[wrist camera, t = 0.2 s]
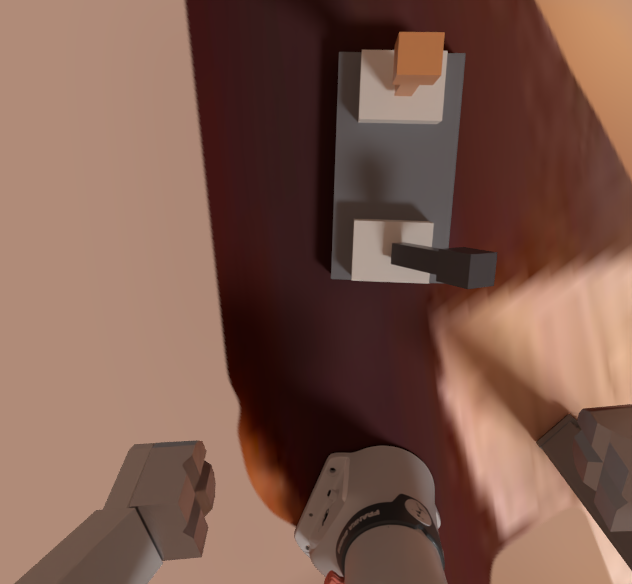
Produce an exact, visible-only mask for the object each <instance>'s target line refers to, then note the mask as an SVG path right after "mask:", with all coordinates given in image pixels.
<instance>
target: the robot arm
mask: <svg viewBox="0 0 632 584" xmlns="http://www.w3.org/2000/svg"><path fill="white" fill-rule="evenodd" d="M577 423H578V424H579V426H580V428H581V429H582V430H581V431H580V432H579V433H578V434H577V435H576V436H574V439H573V446H572V451H573V459H574V463H575V466H576V469H577V471H578V473H579V475H580V477H581V479H582V481H583V483H585V484H586V485H588V486H589V487H591V488H592V489H594V490H595V491H596V494H595V498H594V503H595V505H596V507H597V509H598V510H599V512H600V514H601V516H602V518H603V519H604V521H605V523H606V525H607V527H608V528H609V530H610V532H616V531H632V405H630V404H628V405H617V406H607V407H596V408H585V409H582V410H581V411H580V413H579V416H578V420H577ZM205 455H206V449H205V447H204V444H203V442H202V441H182V442H164V443H153V444H152V443H151V444H135V445H134V446H133V447H132V448H131V449H130V450H129V451H128V454H127V456H126V458H125V461H124V463H123V465H122V467H121V469H120V472H119V474H118V476H117V479H116V481H115V484H114V486H113V488H112V490H111V492H110V495H109V497H108V499H107V502H106V504H105V506H104V508H103V510H96V511H95V512H94V513H93V514H92V515H90V516H89V517H88V518H87V519H86V520H85V521H84V522H83V523H82V524H80V525H79V527H77V528H76V529H75V530H74V531H73V532H72V533H70V534H69V535H68V536H67V537H66V538H65V539H64V540H63V541H61V542H60V543H59V544H58V545H57V546H56V547H55V548H54V549H53V550H52V551H50V552H49V553H48V554H47V555H46V556H45V557H44V558H42V559H41V560H40V561H39V562H38V563H37V564H36V565H35V566H34V567H33V568H31V569H30V570H29V571H28V572H27V573H26V574H25V575H24V576H22V577H21V578H20V579H19V580H18V581H17V582H16V583H15V584H147V583H148V582H149V581H150V580H151V578H152V577H153V576H154V574H155V573H156V572H157V570H158V569H159V568H160V566H161V565H162V564H163V562H162V561H165V560H175V559H187V558H198V557H202V553H203V548H204V544H205V539H206V535H207V531H208V525H207V523H206V520H205V518H204V517H205V516H206V515H207V514H208V513H209V511H211V509H212V508H213V503H214V498H215V477H214V472H213V469H212V466H211V464H209V463H208V462H206V461H205V460H204V459H205ZM330 468H334V469H335V470H331V469H330ZM439 527H440V516H439V513H438V510H437V508H436V506H435V487H434V481H433V478H432V475H431V473H430V471H429V469H428V468H427V466H426V465H425V464H424V463H423V462H422V461H421V460H420V459H419V458H418V457H417V456H415V455H414V454H412V453H410V452H408V451H406V450H404V449H401V448H398V447H393V446H373V447H368V448H365V449H362V450H359V451H356V452H352V453H333V454H330V455H329V456H328V458H327V460H326V462H325V464H324V467H323V469H322V471H321V473H320V475H319V478H318V480H317V482H316V484H315V487H314V489H313V491H312V493H311V496H310V498H309V500H308V502H307V504H306V507H305V509H304V511H303V513H302V516H301V518H300V520H299V522H298V524H297V527H296V529H295V535H294V537H295V540H296V542H297V544H298V545H299V547H300V548H301V549H302V550H303V552H304V553H305V554H306V555H307V556H308V557H310V559H311V561H312V562H313V564H314V566H315V567H316V568H317V569H318V570H319V571H320V572H321V573H322V574H323V575H324V576H325V577H326V578H325V581H324V584H447V581H446V578H445V574H444V565H445V563H444V554H443V550H442V546H441V542H440V538H439V534H438V528H439ZM307 545H309V547H308V546H307Z"/></svg>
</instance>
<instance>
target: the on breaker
mask: <svg viewBox="0 0 632 584" xmlns="http://www.w3.org/2000/svg"><path fill="white" fill-rule="evenodd" d="M496 260H497V252H491V251H485V250H478V249H472V248H466V247H460V248H445V249H440V248H434V247H428V246H422V245H417V244H411V243H405V242H402V243H392V252H391V264H392V265H397V266H401V267H405V268H409V269H413V270H418V271H422V272H426V273H430V274H435V275H436V281H437V282H441V283H445V284H449V285H453V286H457V287H461V288H465V289H472V288H480V287H488V286H494V278H495V269H496Z"/></svg>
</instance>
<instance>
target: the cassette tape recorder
mask: <svg viewBox="0 0 632 584" xmlns="http://www.w3.org/2000/svg"><path fill="white" fill-rule="evenodd" d="M581 430H582V429H581V428H580V426H579V424H578V423H577V420H576V419H575V418H573V417H572V416H571V415H570V414H568V415H567V416H566V417H565V418H564V419H563V420H561V421H560V422H559V423H558V424H557V425H556V426H555V427H553V428H552V429H551V430H550V431H549V432H548V433H546V434H545V435H544V436H543V437H542V438H541V439H539V440H538V441H537V442H536V443H537V444H538V446H539V447H540V448H541V449H542V450H543V451H544V452H545V453H546V455H547V456H548V457H549V459H550V460H551V461H552V463H553V464H554V466H555V467H556V468H557V470H558V471H559V472H560V474H561V475H562V476H563V478H564V479H565V480H566V482H567V483H568V485H569V486H570V487H571V489H572V490H573V491H574V493H575V494H576V495H577V497H578V498H579V500H580V501H581V502H582V504H583V505H584V506H585V508H586V509H587V510H588V512H589V513H590V514H591V516H592V517H593V519H594V520H595V521H596V523H597V524H598V525H599V527H600V528H601V529H602V531H603V532H604V534H605V535H606V536H607V538H608V539H609V540H610V542H611V543H612V544H613V546H614V547H615V548H616V550H617V551H618V553H619V554H620V555H621V557H622V558H623V559H624V561H625V562H626V563H627V565H628V566H629V567H630V569H631V570H632V531H616V532H610V530H609V528H608V527H607V525H606V523H605V521H604V519H603V518H602V516H601V514H600V512H599V510H598V509H597V507H596V505H595V503H594V498H595V494H596V491H595V490H594V489H592V488H591V487H589V486H588V485H586V484H585V483H583V481H582V479H581V477H580V475H579V473H578V471H577V469H576V466H575V463H574V459H573V451H572V446H573V439H574V436H576V435H577V434H578V433H579V432H580V431H581Z"/></svg>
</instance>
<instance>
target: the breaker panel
mask: <svg viewBox="0 0 632 584" xmlns="http://www.w3.org/2000/svg"><path fill="white" fill-rule="evenodd" d="M465 54H466V53H448V51H443V60H442V73H441V76H440V77H439V79H438V80H437V81H436V82H435V83H434V84H433V85H419V87H418V88H417V89H416V91H415V92H414V93H413V95H412V96H394V93H395V85H392V82H393V65H394V50H362V52H339V67H338V95H337V124H336V152H335V181H334V210H333V238H332V267H331V279H345V280H352V281H377V282H403V283H428V284H429V283H441V282H437V281H436V275H435V274H430V273H426V272H422V271H418V270H413V269H409V268H405V267H401V266H397V265H392V264H391V252H392V243H402V242H405V243H411V244H417V245H422V246H428V247H434V248H440V249H445V248H448V246H449V235H450V224H451V212H452V201H453V190H454V178H455V167H456V156H457V144H458V133H459V122H460V111H461V99H462V88H463V77H464V65H465Z"/></svg>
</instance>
